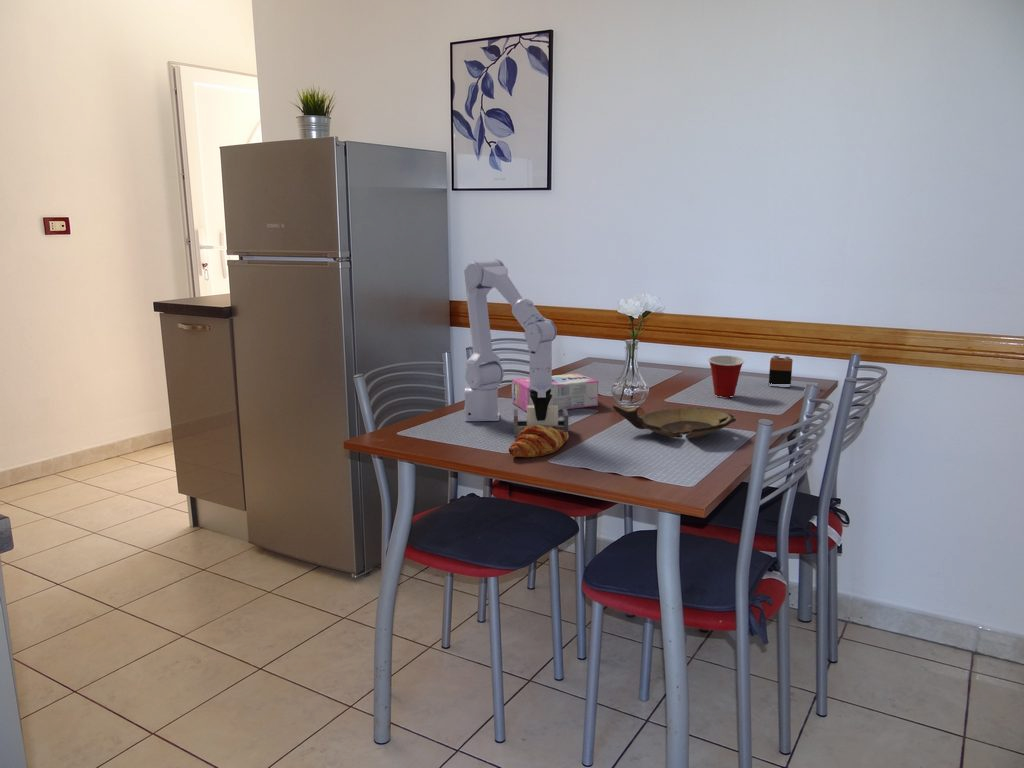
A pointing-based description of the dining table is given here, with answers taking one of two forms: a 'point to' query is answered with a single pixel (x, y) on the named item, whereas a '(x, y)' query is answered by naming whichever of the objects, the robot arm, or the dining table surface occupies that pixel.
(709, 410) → the oil lamp
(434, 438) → the dining table surface
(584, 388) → the gum box
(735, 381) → the plastic cup
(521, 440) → the croissant
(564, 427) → the grey metal bracket
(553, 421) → the cream rectangular block
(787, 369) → the battery
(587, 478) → the dining table surface
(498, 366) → the robot arm
